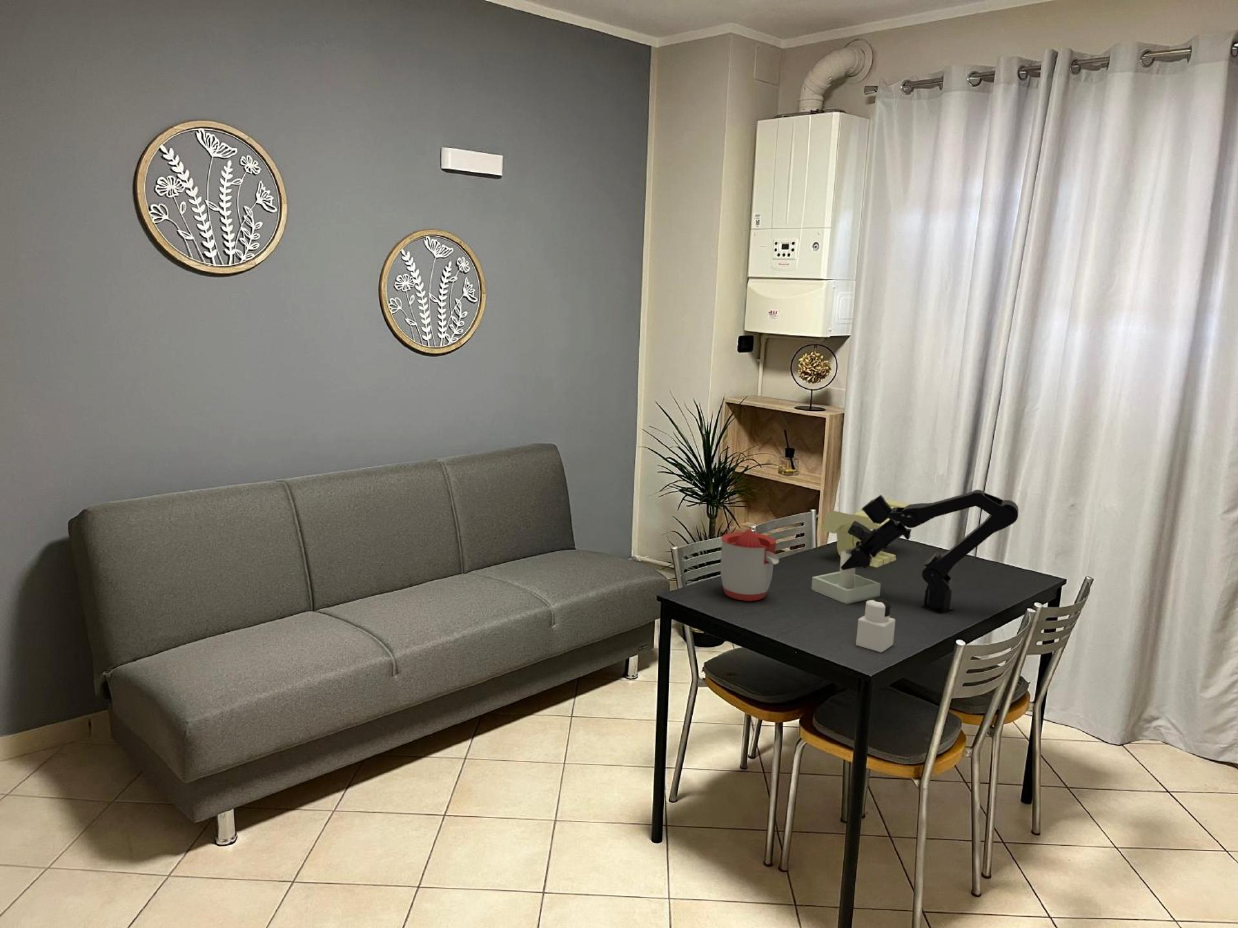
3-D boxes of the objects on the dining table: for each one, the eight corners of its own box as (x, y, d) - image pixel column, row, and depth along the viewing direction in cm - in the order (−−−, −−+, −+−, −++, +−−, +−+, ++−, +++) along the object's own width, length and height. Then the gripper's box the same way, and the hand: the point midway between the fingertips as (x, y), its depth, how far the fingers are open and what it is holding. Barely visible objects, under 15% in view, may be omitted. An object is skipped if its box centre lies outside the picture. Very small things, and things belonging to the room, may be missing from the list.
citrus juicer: (760, 609, 259) (765, 541, 255) (707, 595, 269) (711, 528, 265) (786, 596, 271) (791, 530, 267) (735, 582, 281) (739, 519, 277)
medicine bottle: (867, 637, 241) (871, 593, 239) (893, 645, 237) (897, 600, 235) (855, 645, 236) (859, 600, 234) (881, 653, 232) (886, 607, 229)
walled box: (879, 596, 274) (880, 583, 273) (846, 604, 266) (847, 590, 265) (843, 582, 285) (845, 570, 284) (811, 589, 278) (812, 576, 277)
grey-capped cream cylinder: (855, 591, 273) (858, 551, 271) (840, 590, 273) (844, 551, 271) (850, 586, 278) (854, 547, 275) (836, 585, 277) (839, 547, 275)
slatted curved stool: (866, 544, 329) (871, 495, 325) (908, 555, 318) (913, 504, 314) (820, 560, 307) (825, 508, 304) (863, 572, 296) (868, 518, 293)
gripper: (871, 507, 278) (831, 537, 284) (861, 521, 261) (819, 553, 267) (895, 536, 276) (855, 566, 283) (887, 552, 259) (844, 583, 266)
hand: (843, 566), depth 275 cm, fingers closed on grey-capped cream cylinder, 4 cm apart
